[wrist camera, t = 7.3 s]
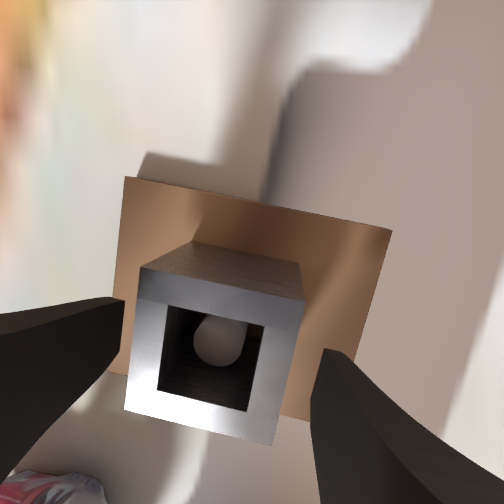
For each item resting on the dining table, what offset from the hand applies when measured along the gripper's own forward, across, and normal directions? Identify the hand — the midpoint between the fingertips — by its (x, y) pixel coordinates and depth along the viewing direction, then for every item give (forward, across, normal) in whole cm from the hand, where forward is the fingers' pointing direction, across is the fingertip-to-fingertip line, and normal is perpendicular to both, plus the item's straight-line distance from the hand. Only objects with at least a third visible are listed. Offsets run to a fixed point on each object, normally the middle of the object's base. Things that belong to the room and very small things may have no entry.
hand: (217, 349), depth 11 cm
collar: (+4, 0, 0) cm, 4 cm away
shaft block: (+5, 0, 0) cm, 5 cm away
